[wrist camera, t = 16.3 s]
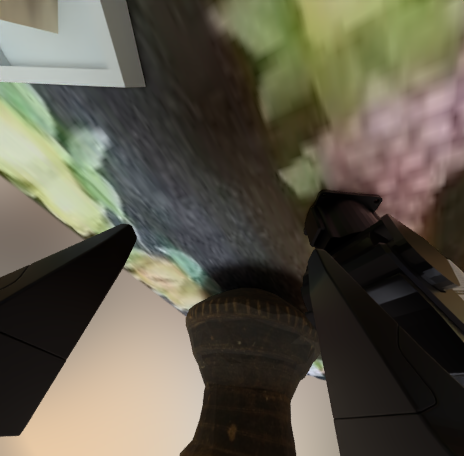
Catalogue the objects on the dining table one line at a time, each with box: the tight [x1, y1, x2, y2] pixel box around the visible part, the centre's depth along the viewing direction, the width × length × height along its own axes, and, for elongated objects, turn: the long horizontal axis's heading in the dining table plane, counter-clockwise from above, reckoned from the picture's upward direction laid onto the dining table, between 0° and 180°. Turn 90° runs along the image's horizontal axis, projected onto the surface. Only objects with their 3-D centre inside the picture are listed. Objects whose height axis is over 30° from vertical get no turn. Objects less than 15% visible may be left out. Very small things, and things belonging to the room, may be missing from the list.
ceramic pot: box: [180, 288, 321, 456], centre depth 28 cm, size 24×24×22 cm
